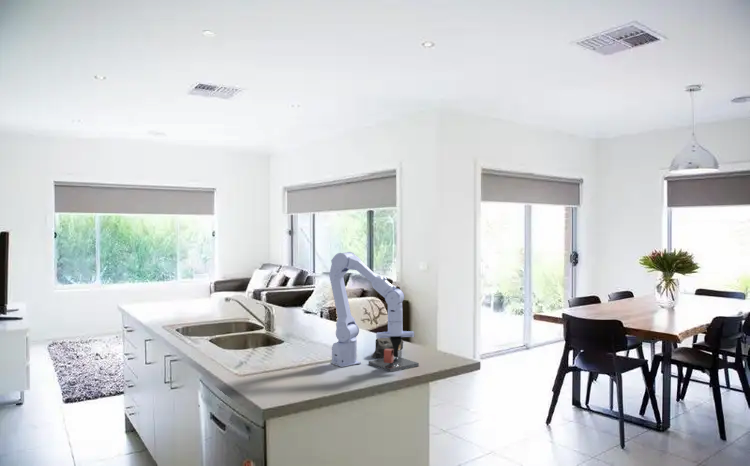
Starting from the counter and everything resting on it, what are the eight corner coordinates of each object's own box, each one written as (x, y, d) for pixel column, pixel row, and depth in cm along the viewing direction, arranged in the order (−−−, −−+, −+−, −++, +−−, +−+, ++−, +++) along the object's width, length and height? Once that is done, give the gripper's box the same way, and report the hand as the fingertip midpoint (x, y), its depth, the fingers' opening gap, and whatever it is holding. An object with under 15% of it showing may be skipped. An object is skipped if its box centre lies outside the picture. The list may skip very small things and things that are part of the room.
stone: (389, 355, 211) (378, 333, 214) (373, 364, 215) (363, 343, 218) (410, 348, 227) (399, 328, 230) (395, 357, 230) (384, 337, 233)
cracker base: (390, 371, 194) (390, 353, 194) (368, 364, 206) (368, 346, 206) (419, 365, 203) (419, 348, 203) (396, 358, 214) (396, 341, 214)
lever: (392, 357, 210) (392, 343, 210) (399, 357, 209) (399, 344, 209) (383, 364, 199) (383, 350, 199) (391, 364, 198) (391, 350, 198)
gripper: (411, 318, 204) (411, 353, 205) (374, 319, 202) (375, 354, 202) (415, 321, 198) (415, 357, 198) (377, 323, 195) (378, 359, 195)
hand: (395, 356), depth 200 cm, fingers closed, pressing on lever
